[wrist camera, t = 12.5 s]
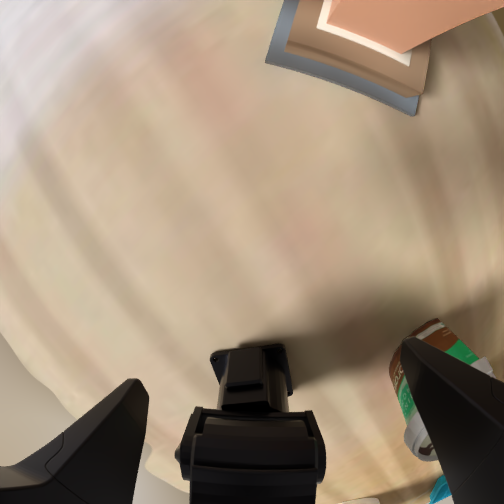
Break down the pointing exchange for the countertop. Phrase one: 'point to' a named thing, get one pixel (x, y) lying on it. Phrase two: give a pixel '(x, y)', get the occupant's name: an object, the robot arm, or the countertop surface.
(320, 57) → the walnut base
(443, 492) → the ice cube tray
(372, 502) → the canister
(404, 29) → the terracotta block
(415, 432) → the food container
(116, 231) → the countertop surface
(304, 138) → the countertop surface
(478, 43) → the countertop surface
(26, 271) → the countertop surface
